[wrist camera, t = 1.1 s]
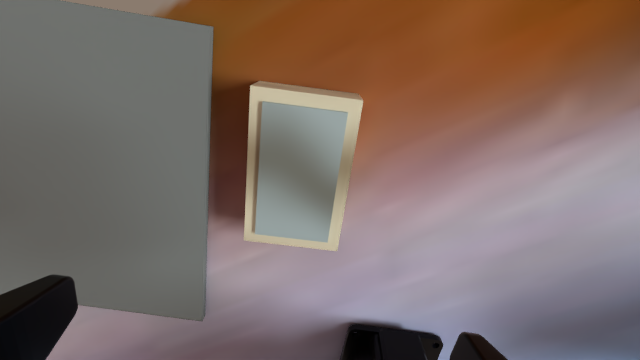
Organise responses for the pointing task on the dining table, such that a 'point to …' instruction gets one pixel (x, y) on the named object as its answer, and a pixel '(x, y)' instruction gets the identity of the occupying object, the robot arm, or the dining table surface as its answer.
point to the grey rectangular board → (105, 154)
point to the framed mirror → (299, 164)
